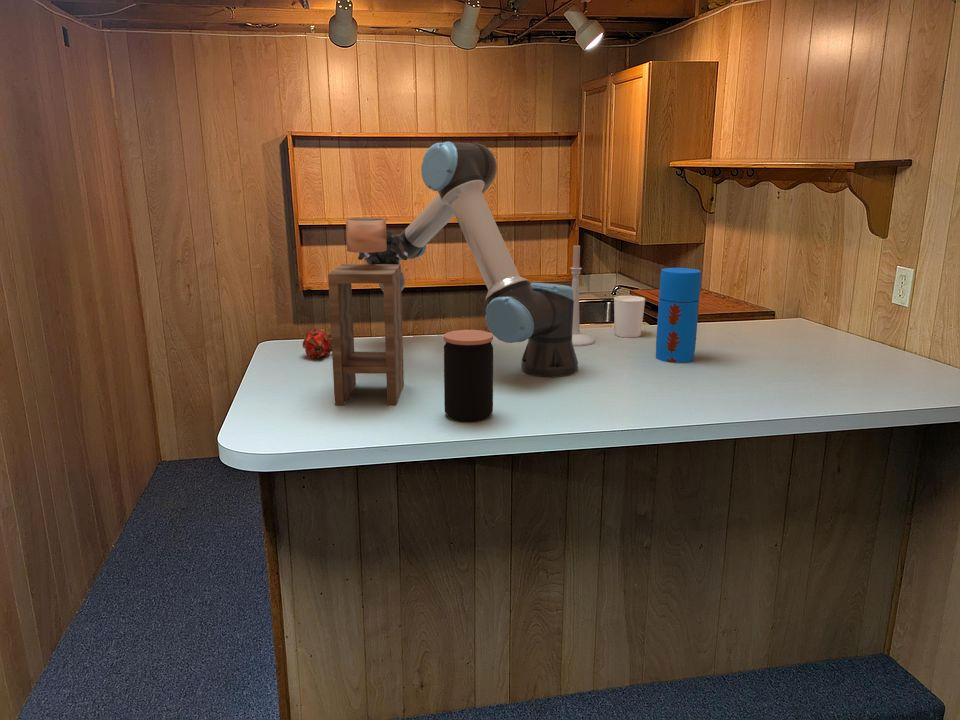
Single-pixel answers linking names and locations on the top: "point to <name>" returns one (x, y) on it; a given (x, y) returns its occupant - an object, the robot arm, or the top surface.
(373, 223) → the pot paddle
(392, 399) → the potting stand
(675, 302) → the thermos
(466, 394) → the coffee jar
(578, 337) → the candlestick
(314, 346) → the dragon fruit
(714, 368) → the top surface
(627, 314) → the white cup
